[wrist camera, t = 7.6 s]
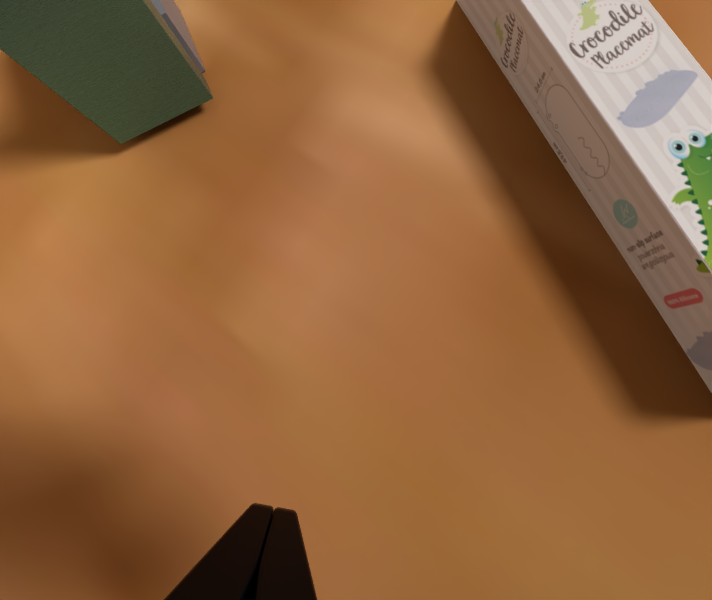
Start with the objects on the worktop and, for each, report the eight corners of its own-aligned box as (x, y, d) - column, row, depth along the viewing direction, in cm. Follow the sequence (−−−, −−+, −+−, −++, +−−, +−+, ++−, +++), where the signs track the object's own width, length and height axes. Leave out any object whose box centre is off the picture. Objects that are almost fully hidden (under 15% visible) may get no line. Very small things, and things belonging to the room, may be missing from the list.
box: (722, 419, 17) (435, -24, 23) (815, 377, 17) (502, -58, 23) (825, 434, 13) (442, -112, 19) (952, 379, 13) (524, -155, 19)
